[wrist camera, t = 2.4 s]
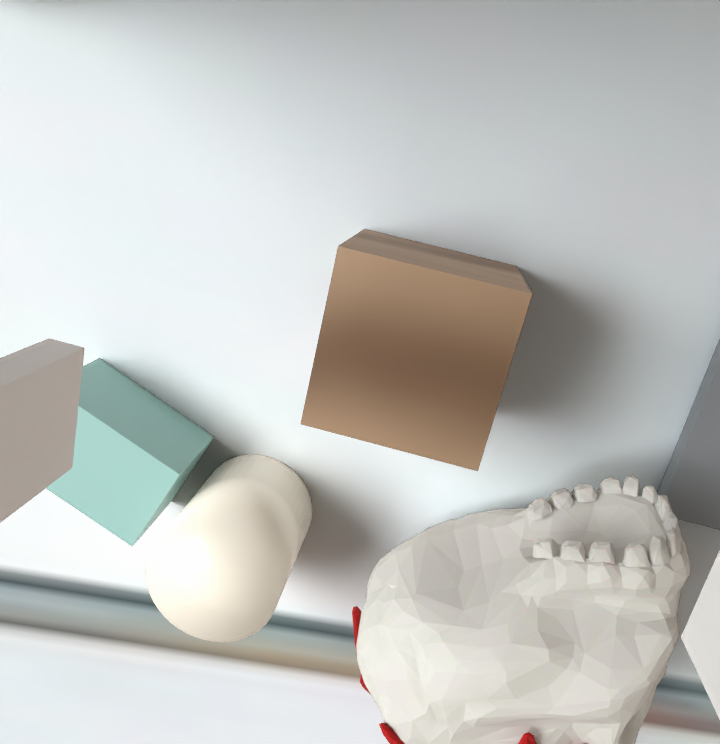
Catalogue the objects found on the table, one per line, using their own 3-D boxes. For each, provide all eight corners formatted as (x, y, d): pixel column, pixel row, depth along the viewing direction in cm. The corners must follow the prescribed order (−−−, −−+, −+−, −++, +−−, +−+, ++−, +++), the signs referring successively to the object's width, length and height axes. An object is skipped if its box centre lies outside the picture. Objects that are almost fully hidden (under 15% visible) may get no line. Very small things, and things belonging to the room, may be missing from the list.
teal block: (101, 357, 30) (48, 384, 26) (215, 435, 30) (179, 474, 26) (62, 425, 31) (6, 461, 27) (172, 500, 31) (132, 546, 27)
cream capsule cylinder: (212, 441, 30) (154, 506, 24) (322, 471, 30) (289, 544, 24) (196, 538, 31) (138, 620, 26) (300, 567, 31) (264, 657, 25)
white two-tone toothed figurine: (657, 441, 26) (595, 713, 33) (369, 418, 28) (362, 684, 34) (743, 607, 18) (639, 928, 24) (332, 563, 20) (331, 878, 26)
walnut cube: (364, 228, 26) (338, 246, 21) (516, 266, 26) (532, 294, 20) (333, 372, 28) (300, 423, 23) (474, 408, 28) (477, 471, 22)
